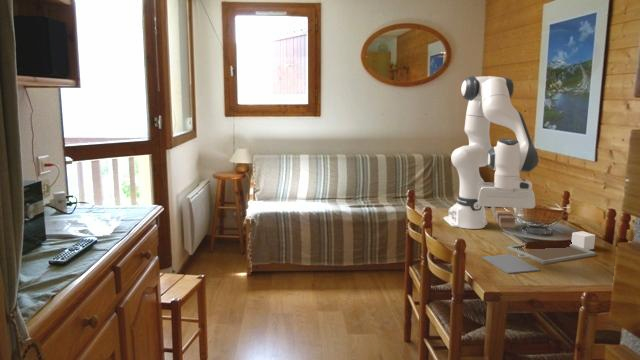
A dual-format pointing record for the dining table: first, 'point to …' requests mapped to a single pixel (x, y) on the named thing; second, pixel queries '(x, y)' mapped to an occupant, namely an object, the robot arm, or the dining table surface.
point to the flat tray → (552, 253)
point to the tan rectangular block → (505, 219)
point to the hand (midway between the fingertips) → (505, 218)
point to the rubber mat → (510, 264)
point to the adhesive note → (583, 240)
